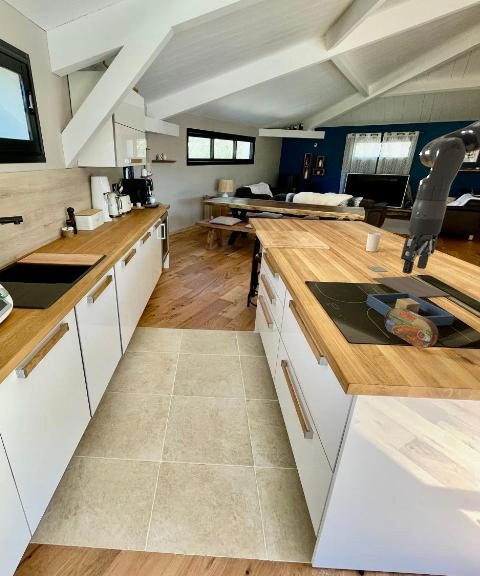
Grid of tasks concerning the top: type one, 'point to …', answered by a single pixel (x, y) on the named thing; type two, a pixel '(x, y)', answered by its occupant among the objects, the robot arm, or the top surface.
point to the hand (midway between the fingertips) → (414, 270)
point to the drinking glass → (373, 242)
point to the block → (408, 305)
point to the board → (411, 287)
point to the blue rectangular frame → (438, 314)
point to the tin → (411, 327)
